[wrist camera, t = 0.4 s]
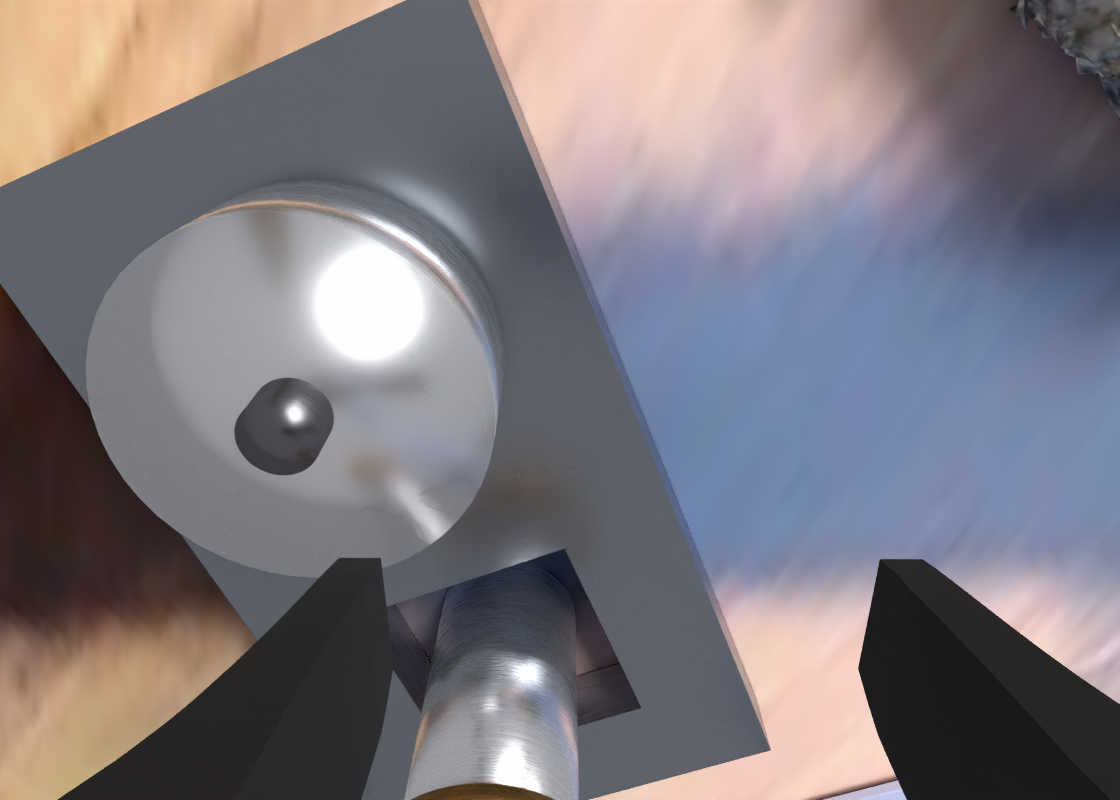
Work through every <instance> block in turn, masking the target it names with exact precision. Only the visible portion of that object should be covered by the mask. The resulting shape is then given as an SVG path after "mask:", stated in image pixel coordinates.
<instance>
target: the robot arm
mask: <svg viewBox="0 0 1120 800" xmlns="http://www.w3.org/2000/svg"><path fill="white" fill-rule="evenodd" d="M858 670H859V673H860V677H861V680H862V684H863V687H864V691H865V694H866V698H867V701H868V705H869V708H870V711H871V714H872V717H873V721H874V724H875V727H876V730H877V733H878V736H879V738H880V741H881V743H882V745H883V748H884V750H885V752H886V755H887V757H888V759H889V761H890V764H891V766H892V768H893V770H894V773H895V775H896V777H897V779H898V780H897V781H893V782H889V783H885V784H882V785H878V786H874V787H870V788H866V789H862V790H858V791H855V792H851V793H847V794H843V795H839V796H835V797H831V798H828V799H824V800H1120V704H1118V703H1117V702H1115V701H1114V700H1112V699H1111V698H1109V697H1108V696H1107V695H1105V694H1104V693H1102V692H1101V691H1099V690H1098V689H1096V688H1095V687H1093V686H1092V685H1090V684H1089V683H1087V682H1086V681H1085V680H1083V679H1082V678H1080V677H1079V676H1077V675H1076V674H1075V673H1073V672H1072V671H1070V670H1069V669H1068V668H1066V667H1065V666H1063V665H1062V664H1061V663H1059V662H1058V661H1056V660H1055V659H1054V658H1052V657H1051V656H1050V655H1048V654H1047V653H1046V652H1044V651H1043V650H1041V649H1040V648H1039V647H1037V646H1036V645H1035V644H1033V643H1032V642H1031V641H1029V640H1028V639H1027V638H1025V637H1024V636H1023V635H1021V634H1020V633H1019V632H1018V631H1016V630H1015V629H1014V628H1012V627H1011V626H1010V625H1008V624H1007V623H1006V622H1004V621H1003V620H1002V619H1001V618H999V617H998V616H997V615H995V614H994V613H993V612H992V611H990V610H989V609H988V608H986V607H985V606H984V605H983V604H981V603H980V602H979V601H977V600H976V599H975V598H974V597H972V596H971V595H970V594H968V593H967V592H966V591H965V590H963V589H962V588H961V587H959V586H958V585H957V584H955V583H954V582H953V581H952V580H950V579H949V578H948V577H946V576H945V575H944V574H942V573H941V572H940V571H938V570H937V569H936V568H934V567H933V566H931V565H930V564H928V563H927V562H926V561H924V560H923V559H880V562H879V567H878V572H877V577H876V582H875V587H874V592H873V597H872V602H871V607H870V612H869V617H868V622H867V627H866V632H865V637H864V642H863V647H862V652H861V657H860V662H859V667H858ZM392 672H393V658H392V650H391V641H390V633H389V624H388V615H387V607H386V598H385V589H384V581H383V572H382V563H381V558H338V559H337V560H336V561H335V562H334V563H333V564H332V565H331V566H330V567H329V568H328V569H327V570H326V571H325V572H324V573H323V574H322V575H321V576H320V577H319V578H318V579H317V580H316V582H315V583H314V584H313V585H312V586H311V587H310V588H309V589H308V590H307V591H306V592H305V593H304V594H303V595H302V596H301V597H300V598H299V599H298V601H297V602H296V603H295V604H294V605H293V606H292V607H291V608H290V609H289V610H288V611H287V612H286V613H285V614H284V615H283V616H282V617H281V618H280V619H279V620H278V621H277V622H276V623H275V624H274V625H273V626H272V627H271V628H270V629H269V630H268V631H267V632H266V633H265V634H264V635H263V636H262V637H261V638H260V639H259V640H258V641H257V642H256V643H255V644H254V645H253V646H252V647H251V648H250V649H249V650H248V651H247V652H246V653H245V654H244V655H243V656H242V657H241V658H240V659H239V660H237V661H236V662H235V663H234V664H233V665H232V666H231V667H230V668H229V669H228V670H226V671H225V672H224V673H223V674H222V675H221V676H220V677H219V678H218V679H216V680H215V681H214V682H213V683H212V684H211V685H210V686H209V687H208V688H206V689H205V690H204V691H203V692H202V693H201V694H200V695H199V696H198V697H197V698H195V699H194V700H193V701H192V702H191V703H190V704H188V705H187V706H186V707H185V708H184V709H182V710H181V711H180V712H179V713H178V714H176V715H175V716H174V717H173V718H171V719H170V720H169V721H168V722H166V723H165V724H164V725H162V726H161V727H160V728H159V729H157V730H156V731H155V732H153V733H152V734H151V735H149V736H148V737H147V738H145V739H144V740H143V741H141V742H140V743H139V744H138V745H136V746H135V747H134V748H132V749H131V750H130V751H128V752H127V753H125V754H124V755H123V756H121V757H120V758H119V759H117V760H116V761H114V762H113V763H111V764H110V765H108V766H107V767H105V768H104V769H102V770H101V771H99V772H98V773H96V774H95V775H93V776H92V777H90V778H89V779H88V780H86V781H85V782H83V783H82V784H80V785H79V786H77V787H76V788H74V789H73V790H71V791H70V792H68V793H67V794H65V795H64V796H62V797H61V798H59V799H58V800H361V799H362V796H363V793H364V789H365V786H366V783H367V780H368V776H369V773H370V770H371V766H372V763H373V760H374V757H375V753H376V750H377V747H378V743H379V740H380V736H381V733H382V728H383V723H384V718H385V712H386V707H387V702H388V696H389V690H390V684H391V678H392Z"/></svg>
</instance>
